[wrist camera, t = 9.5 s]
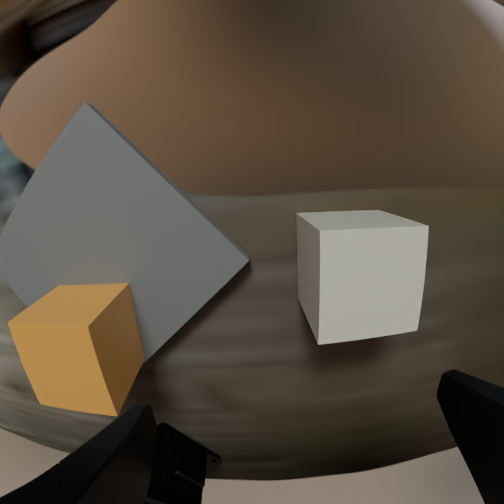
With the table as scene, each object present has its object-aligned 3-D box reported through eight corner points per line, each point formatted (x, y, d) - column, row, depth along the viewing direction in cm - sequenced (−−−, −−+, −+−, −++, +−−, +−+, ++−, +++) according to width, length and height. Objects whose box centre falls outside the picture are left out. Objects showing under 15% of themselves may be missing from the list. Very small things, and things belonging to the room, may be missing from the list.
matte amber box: (145, 358, 20) (117, 416, 14) (78, 355, 20) (40, 404, 14) (129, 282, 18) (87, 326, 12) (59, 285, 18) (7, 322, 12)
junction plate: (121, 380, 21) (100, 419, 17) (-3, 256, 19) (-40, 274, 14) (249, 255, 19) (251, 280, 15) (93, 105, 17) (55, 90, 12)
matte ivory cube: (375, 290, 20) (417, 330, 14) (297, 297, 20) (318, 344, 14) (378, 210, 19) (428, 225, 13) (296, 213, 19) (319, 230, 13)
